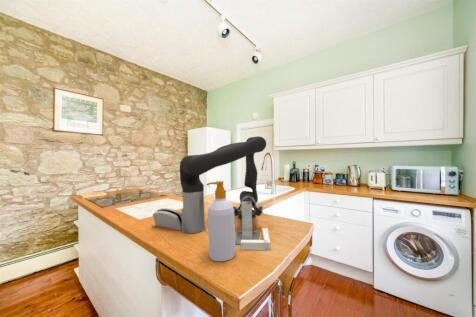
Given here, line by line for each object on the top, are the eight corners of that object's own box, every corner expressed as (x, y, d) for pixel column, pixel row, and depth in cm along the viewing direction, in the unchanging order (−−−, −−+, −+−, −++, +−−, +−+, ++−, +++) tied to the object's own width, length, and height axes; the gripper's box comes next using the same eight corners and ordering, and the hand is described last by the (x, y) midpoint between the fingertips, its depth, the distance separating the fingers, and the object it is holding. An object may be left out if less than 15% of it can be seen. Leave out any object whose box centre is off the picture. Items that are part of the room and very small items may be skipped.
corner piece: (240, 249, 60) (240, 242, 60) (242, 234, 72) (242, 228, 72) (270, 250, 59) (270, 242, 59) (267, 234, 72) (267, 228, 72)
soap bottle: (201, 256, 57) (199, 182, 57) (224, 245, 64) (221, 179, 64) (218, 266, 51) (215, 184, 51) (241, 253, 57) (238, 180, 58)
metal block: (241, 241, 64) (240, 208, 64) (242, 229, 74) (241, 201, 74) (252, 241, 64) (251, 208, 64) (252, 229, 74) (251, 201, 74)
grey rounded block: (189, 226, 83) (183, 208, 80) (182, 233, 79) (175, 214, 76) (163, 221, 90) (157, 205, 87) (156, 228, 86) (149, 210, 83)
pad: (234, 244, 64) (234, 244, 64) (237, 232, 75) (237, 231, 75) (259, 245, 63) (259, 244, 63) (258, 232, 74) (258, 231, 74)
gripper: (233, 197, 87) (228, 207, 70) (262, 197, 86) (264, 206, 68) (233, 212, 87) (229, 226, 70) (262, 212, 86) (265, 226, 68)
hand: (246, 216), depth 69 cm, fingers open, 4 cm apart
